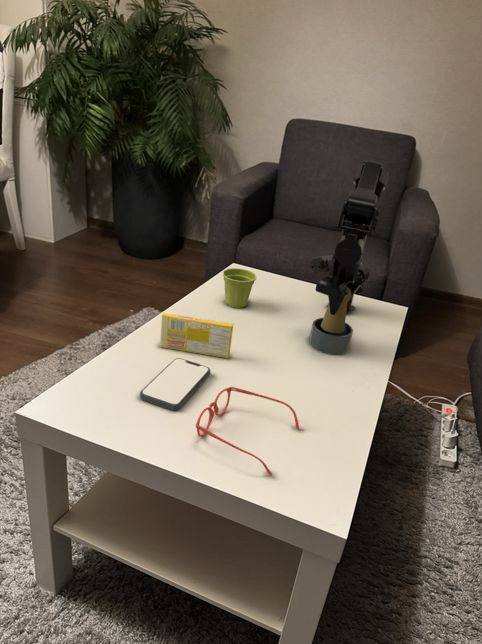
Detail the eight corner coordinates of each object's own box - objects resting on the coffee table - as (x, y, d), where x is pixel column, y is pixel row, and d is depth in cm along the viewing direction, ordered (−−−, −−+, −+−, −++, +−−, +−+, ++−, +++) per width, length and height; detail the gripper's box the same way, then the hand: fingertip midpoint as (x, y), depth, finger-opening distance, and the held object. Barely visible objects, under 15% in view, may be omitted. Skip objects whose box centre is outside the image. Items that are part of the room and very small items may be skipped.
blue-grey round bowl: (319, 330, 143) (323, 313, 140) (354, 344, 139) (359, 327, 136) (302, 344, 135) (305, 326, 132) (338, 359, 131) (343, 341, 128)
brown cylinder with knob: (347, 326, 136) (357, 286, 131) (340, 335, 131) (350, 294, 126) (325, 319, 138) (334, 279, 132) (317, 328, 133) (326, 287, 127)
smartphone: (177, 413, 104) (212, 374, 117) (177, 407, 103) (212, 367, 116) (137, 399, 106) (175, 362, 119) (137, 393, 105) (176, 356, 118)
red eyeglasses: (227, 399, 109) (230, 379, 107) (301, 426, 105) (306, 405, 103) (185, 447, 95) (187, 425, 93) (269, 480, 91) (273, 458, 88)
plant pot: (218, 294, 153) (221, 266, 149) (251, 297, 155) (255, 269, 151) (219, 309, 145) (223, 279, 141) (254, 312, 147) (258, 282, 143)
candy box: (230, 354, 125) (234, 323, 121) (228, 359, 123) (232, 327, 119) (161, 343, 125) (163, 311, 121) (159, 347, 124) (161, 315, 120)
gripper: (335, 233, 135) (323, 290, 143) (301, 250, 120) (290, 312, 128) (376, 246, 131) (362, 304, 138) (346, 264, 116) (331, 328, 124)
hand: (336, 311), depth 132 cm, fingers closed on brown cylinder with knob, 4 cm apart
